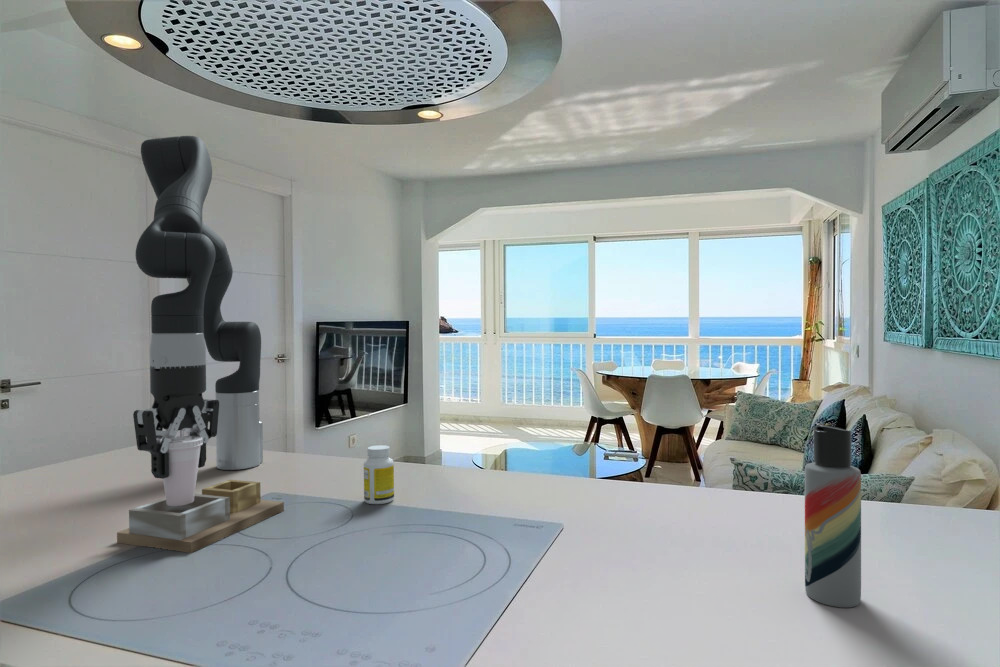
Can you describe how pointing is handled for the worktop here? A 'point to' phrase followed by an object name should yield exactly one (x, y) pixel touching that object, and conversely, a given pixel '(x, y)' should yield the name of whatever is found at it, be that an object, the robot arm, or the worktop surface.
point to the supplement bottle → (378, 476)
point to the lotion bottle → (833, 521)
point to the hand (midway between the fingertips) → (180, 471)
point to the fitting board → (199, 517)
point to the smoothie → (182, 469)
